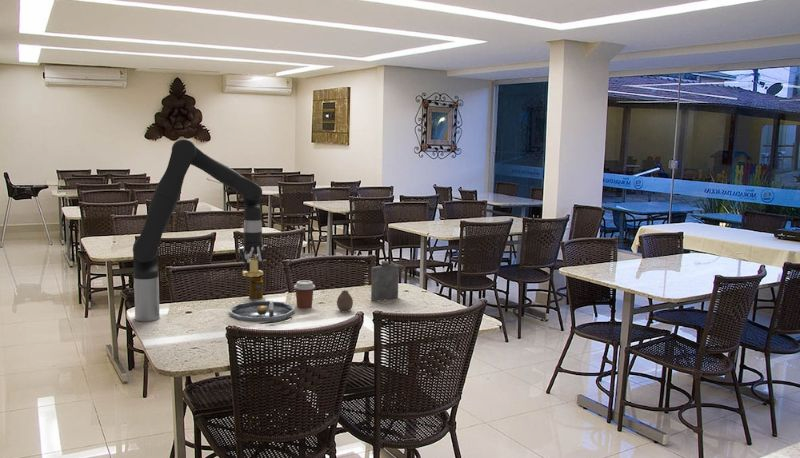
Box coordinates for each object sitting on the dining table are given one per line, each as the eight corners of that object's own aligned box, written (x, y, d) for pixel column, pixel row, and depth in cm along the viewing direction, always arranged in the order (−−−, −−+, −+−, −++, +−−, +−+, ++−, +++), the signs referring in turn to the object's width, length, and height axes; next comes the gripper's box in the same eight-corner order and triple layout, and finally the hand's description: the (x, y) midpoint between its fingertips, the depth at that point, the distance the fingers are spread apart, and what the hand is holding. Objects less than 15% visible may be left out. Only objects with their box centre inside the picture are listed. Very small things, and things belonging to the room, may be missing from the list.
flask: (369, 300, 303) (369, 262, 300) (394, 296, 311) (395, 259, 308) (373, 301, 300) (373, 263, 297) (399, 298, 308) (400, 260, 305)
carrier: (218, 313, 274) (218, 297, 273) (271, 303, 292) (271, 288, 291) (251, 327, 255) (251, 310, 254) (305, 316, 273) (305, 300, 272)
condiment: (263, 298, 301) (263, 272, 299) (264, 303, 293) (263, 276, 291) (247, 298, 300) (247, 273, 298) (247, 303, 291) (247, 277, 290)
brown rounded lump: (355, 310, 284) (356, 291, 283) (344, 313, 279) (344, 293, 278) (345, 307, 289) (345, 288, 287) (333, 310, 284) (333, 290, 282)
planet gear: (238, 274, 276) (238, 259, 275) (256, 271, 282) (256, 257, 281) (249, 277, 270) (249, 262, 269) (266, 275, 276) (266, 260, 275)
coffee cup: (289, 309, 283) (289, 282, 281) (302, 305, 291) (302, 278, 289) (306, 312, 279) (307, 285, 277) (319, 308, 287) (319, 281, 285)
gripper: (262, 228, 281) (262, 267, 283) (232, 230, 271) (233, 271, 273) (272, 230, 276) (272, 269, 278) (242, 233, 266) (242, 274, 268)
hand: (252, 270), depth 276 cm, fingers closed on planet gear, 4 cm apart
